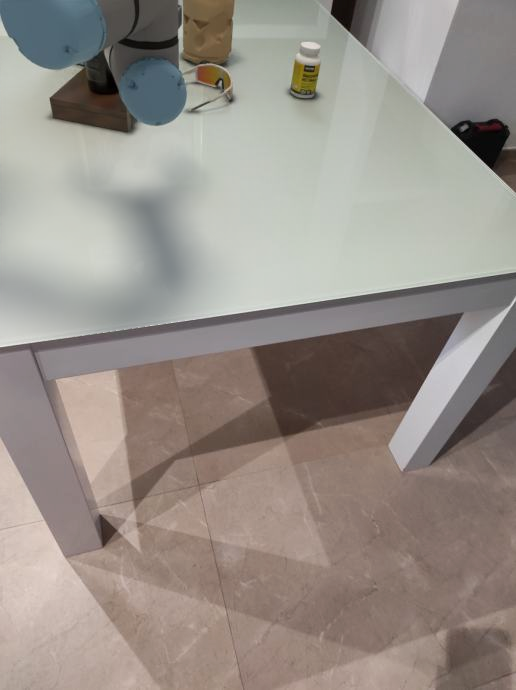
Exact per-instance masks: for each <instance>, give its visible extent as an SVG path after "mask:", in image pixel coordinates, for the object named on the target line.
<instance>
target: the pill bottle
mask: <svg viewBox="0 0 516 690" xmlns="http://www.w3.org/2000/svg"><path fill="white" fill-rule="evenodd" d="M299 51H300V52H298V53H297V54H296V55H295V58H294V64H293V70H292V75H291V82H290V89H289V91H290V94H291V95H292V96H294V97H296V98H299V99H311V98H313V97H315V94H316V90H317V85H318V80H319V74H320V69H321V65H322V58H321V57H320V55H319V54H320V53H321V45H320V44H319V43H316V42H314V41H302V42H300V45H299Z"/></svg>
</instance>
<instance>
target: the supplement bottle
mask: <svg viewBox="0 0 516 690" xmlns="http://www.w3.org/2000/svg"><path fill="white" fill-rule="evenodd" d="M84 67H85V68H86V75H87V82H88V87H89V88H90V89H91V90H92V91H94V92H96V93H101V94H111V93H115V92H118V91H119V90H118V87H117V85H116V82H115V79H114V77H113V75H112V72H111V70H110V67H109V65H108V62H107V60H106V58H105V55H104V53H103V51H101V52H99V53H98V55H96V56H95V57H93V58H92V59H91V60H89V61H86V62H85V65H84Z"/></svg>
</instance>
